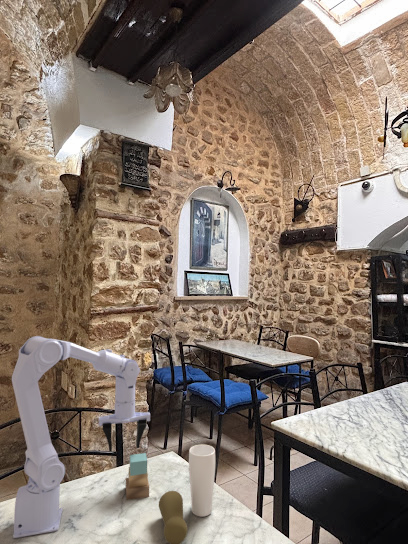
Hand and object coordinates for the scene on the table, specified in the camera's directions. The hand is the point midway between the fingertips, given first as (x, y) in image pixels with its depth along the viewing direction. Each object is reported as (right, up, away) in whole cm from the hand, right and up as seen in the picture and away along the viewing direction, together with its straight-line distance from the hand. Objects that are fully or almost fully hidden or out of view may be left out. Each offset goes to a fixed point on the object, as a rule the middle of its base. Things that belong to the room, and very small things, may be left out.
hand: (124, 448), depth 97 cm
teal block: (+5, -5, -3) cm, 7 cm away
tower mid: (+5, -8, -3) cm, 9 cm away
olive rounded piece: (+15, -6, -13) cm, 21 cm away
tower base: (+5, -11, -4) cm, 12 cm away
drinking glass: (+23, -10, -12) cm, 27 cm away
